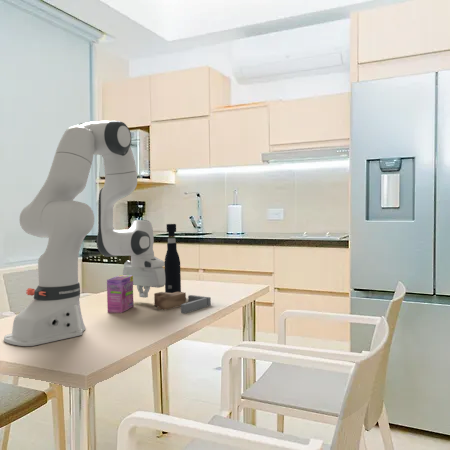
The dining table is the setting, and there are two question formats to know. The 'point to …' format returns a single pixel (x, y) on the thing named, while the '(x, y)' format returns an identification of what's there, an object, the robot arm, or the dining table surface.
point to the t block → (169, 300)
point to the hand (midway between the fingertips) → (143, 297)
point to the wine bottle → (172, 263)
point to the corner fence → (195, 303)
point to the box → (120, 293)
